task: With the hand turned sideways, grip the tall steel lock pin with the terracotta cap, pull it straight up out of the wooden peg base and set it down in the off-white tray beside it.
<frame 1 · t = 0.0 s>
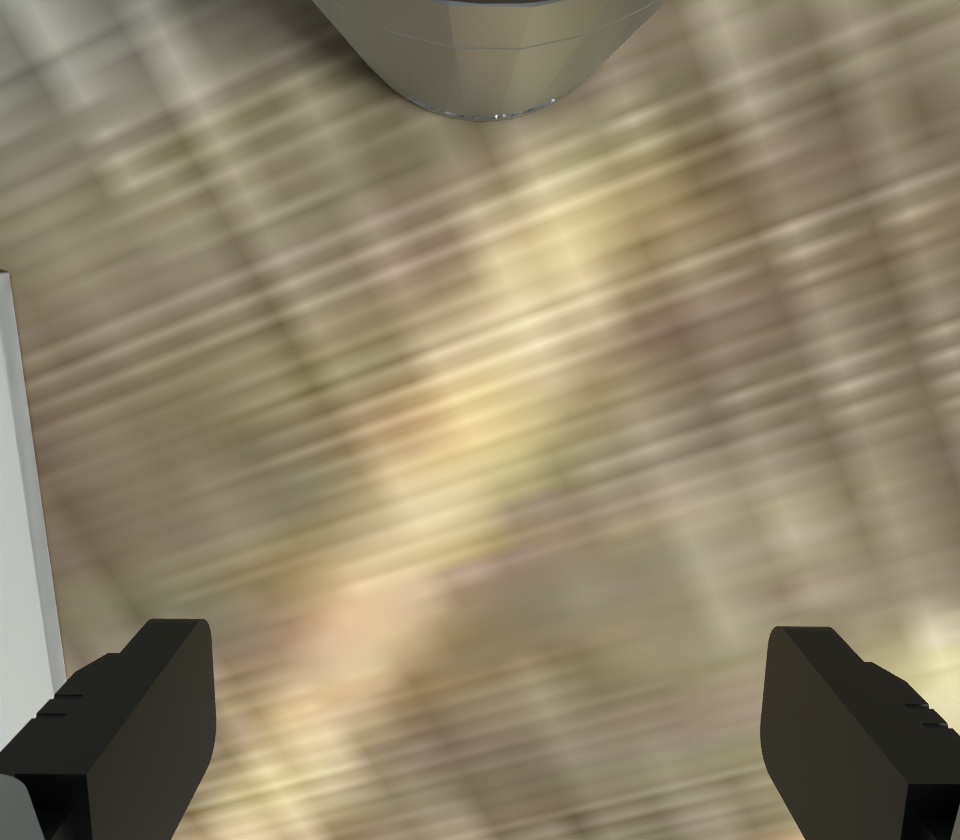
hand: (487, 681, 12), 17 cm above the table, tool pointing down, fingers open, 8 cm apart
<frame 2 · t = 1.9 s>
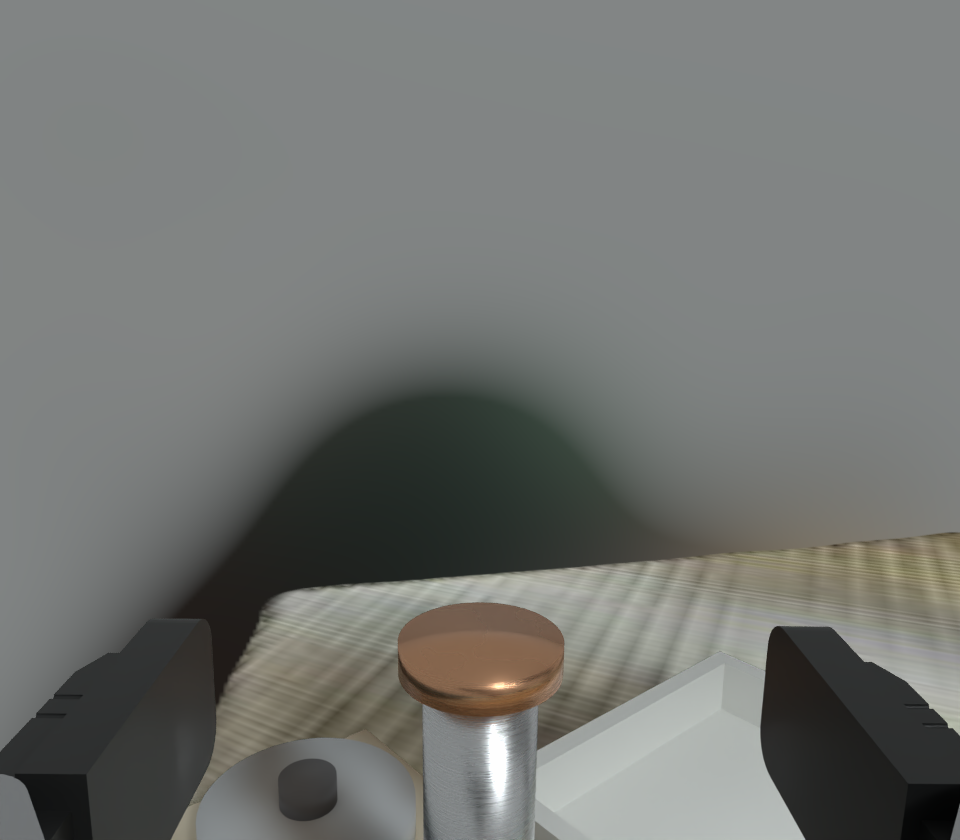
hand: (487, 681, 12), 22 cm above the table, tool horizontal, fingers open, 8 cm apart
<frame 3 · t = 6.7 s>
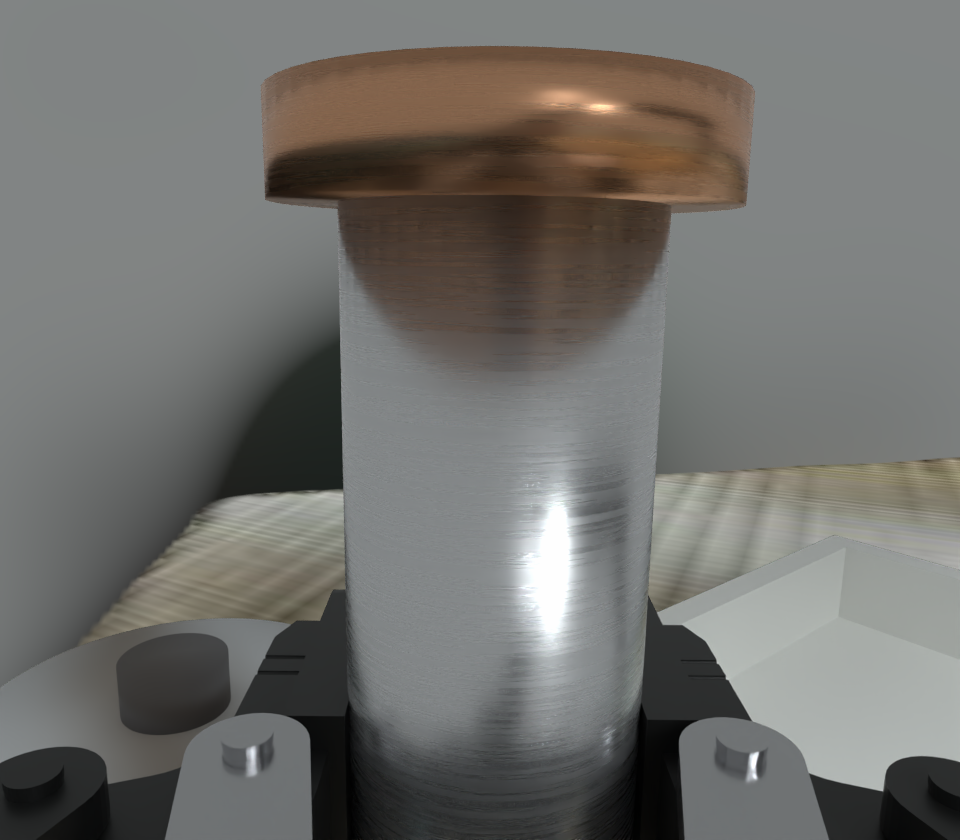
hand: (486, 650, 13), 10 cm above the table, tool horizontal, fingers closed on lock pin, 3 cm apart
when the fingers open (12 cm above the table, at t = 12.4 s): lock pin drops 1 cm, resting on tray.
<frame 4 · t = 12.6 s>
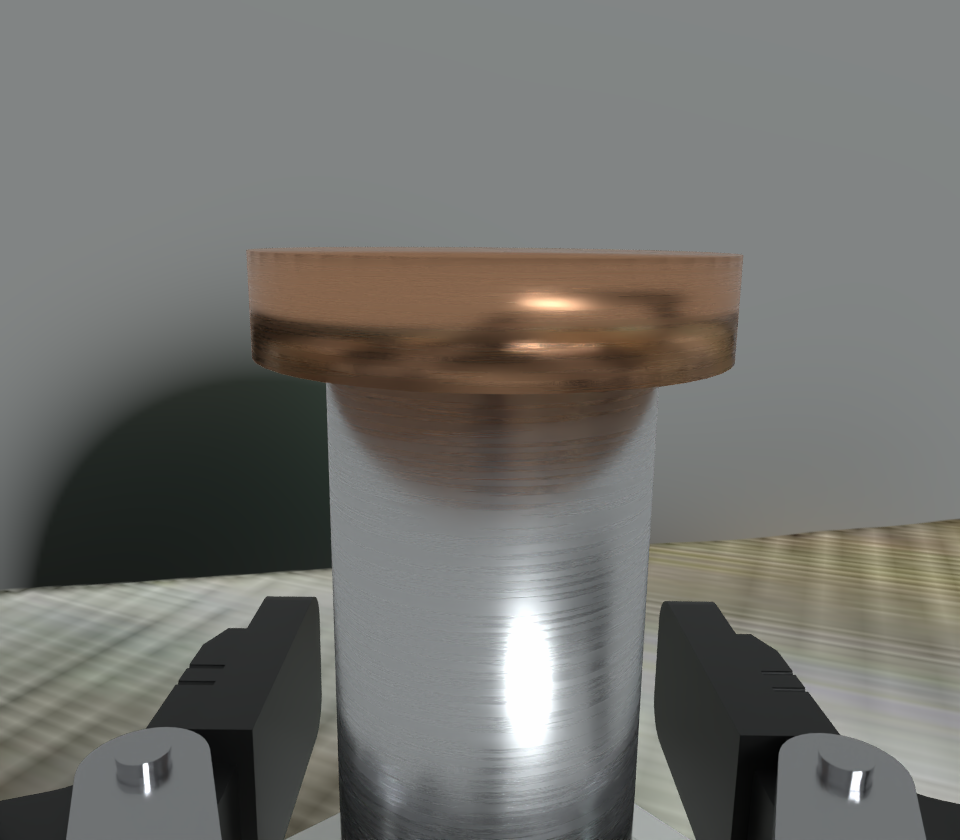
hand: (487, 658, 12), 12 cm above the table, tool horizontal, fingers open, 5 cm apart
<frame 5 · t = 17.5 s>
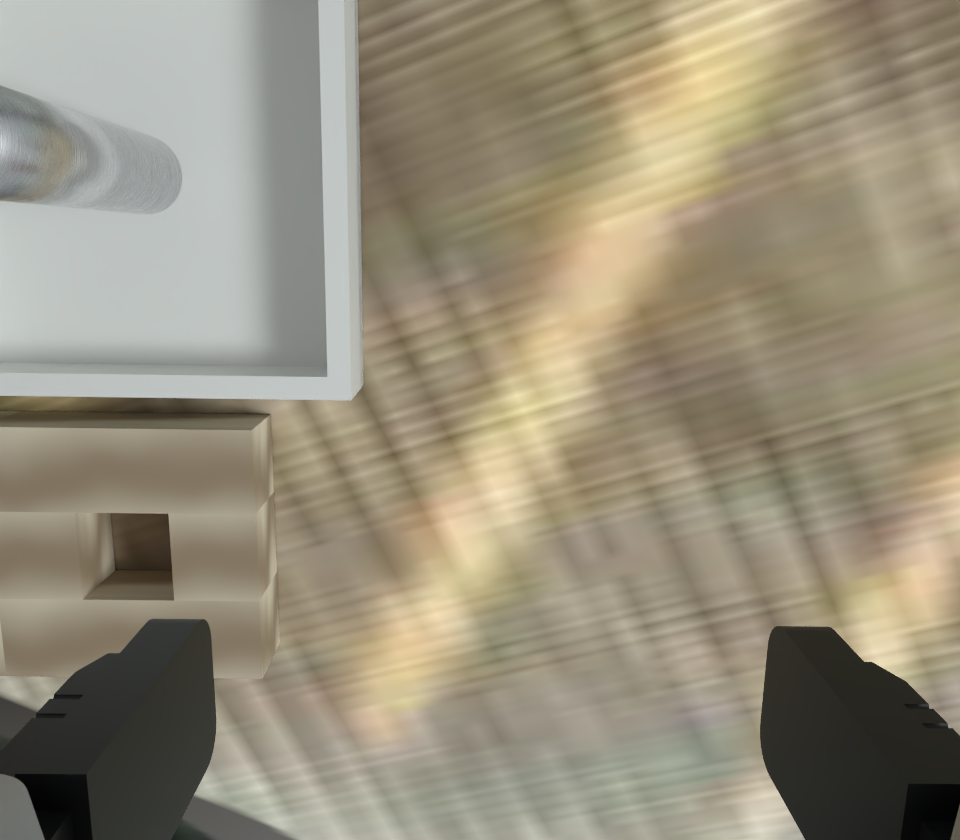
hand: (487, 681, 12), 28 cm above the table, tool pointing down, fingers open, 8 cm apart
wooden peg base: (154, 530, 41), on the table
tray: (151, 175, 37), on the table
lock pin: (143, 174, 36), point 1 cm above the table, touching tray
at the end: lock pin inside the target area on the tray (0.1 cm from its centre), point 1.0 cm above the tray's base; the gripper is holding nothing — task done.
